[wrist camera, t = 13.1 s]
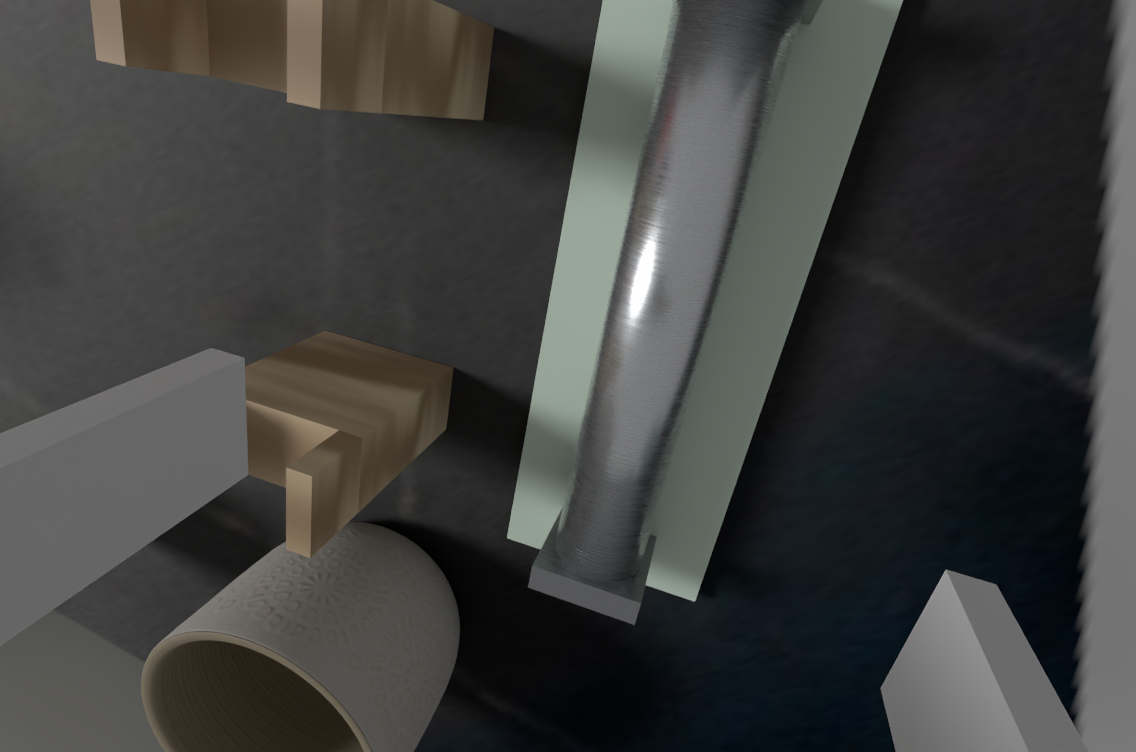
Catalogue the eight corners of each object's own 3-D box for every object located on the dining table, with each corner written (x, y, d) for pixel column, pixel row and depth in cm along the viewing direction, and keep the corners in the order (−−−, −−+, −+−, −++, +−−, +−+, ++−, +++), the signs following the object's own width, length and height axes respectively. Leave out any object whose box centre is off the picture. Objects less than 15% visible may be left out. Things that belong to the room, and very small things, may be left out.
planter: (525, 624, 35) (438, 811, 26) (389, 693, 41) (274, 870, 31) (383, 458, 34) (233, 587, 24) (261, 551, 39) (96, 688, 29)
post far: (325, 330, 32) (135, 416, 22) (453, 367, 31) (311, 476, 21) (324, 391, 33) (143, 497, 24) (446, 429, 32) (310, 558, 22)
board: (626, -102, 22) (622, -110, 21) (920, -62, 20) (927, -69, 20) (512, 529, 33) (506, 538, 33) (696, 591, 31) (695, 601, 31)
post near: (335, -2, 26) (80, -89, 16) (494, 27, 25) (323, -48, 15) (332, 88, 27) (96, 59, 18) (483, 120, 26) (319, 109, 16)
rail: (681, -38, 22) (664, -81, 17) (822, -16, 21) (840, -56, 17) (558, 525, 31) (527, 587, 27) (650, 556, 31) (634, 624, 26)
